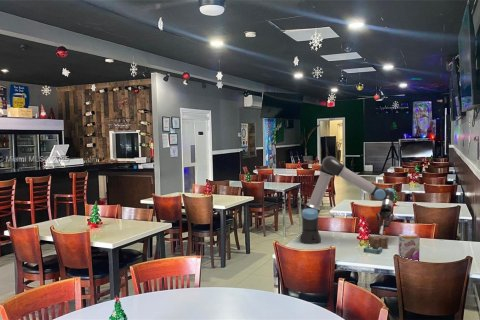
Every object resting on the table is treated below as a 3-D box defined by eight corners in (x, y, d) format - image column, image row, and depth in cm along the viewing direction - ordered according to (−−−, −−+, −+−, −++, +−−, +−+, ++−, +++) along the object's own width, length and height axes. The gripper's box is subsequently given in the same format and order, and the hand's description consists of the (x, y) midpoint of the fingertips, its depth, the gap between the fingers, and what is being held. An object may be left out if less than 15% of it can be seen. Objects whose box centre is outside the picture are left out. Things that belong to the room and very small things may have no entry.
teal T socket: (363, 252, 277) (363, 248, 277) (367, 249, 284) (367, 245, 283) (378, 254, 271) (378, 250, 271) (382, 251, 278) (382, 247, 278)
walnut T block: (366, 248, 285) (366, 238, 285) (370, 245, 293) (370, 235, 293) (384, 250, 278) (384, 240, 278) (387, 247, 286) (387, 237, 286)
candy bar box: (400, 263, 252) (400, 236, 251) (398, 260, 257) (398, 234, 256) (419, 263, 251) (419, 236, 250) (417, 260, 256) (417, 234, 255)
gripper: (396, 210, 305) (391, 238, 291) (378, 209, 312) (372, 236, 299) (395, 204, 300) (389, 232, 287) (376, 203, 307) (370, 230, 294)
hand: (381, 234), depth 293 cm, fingers closed
